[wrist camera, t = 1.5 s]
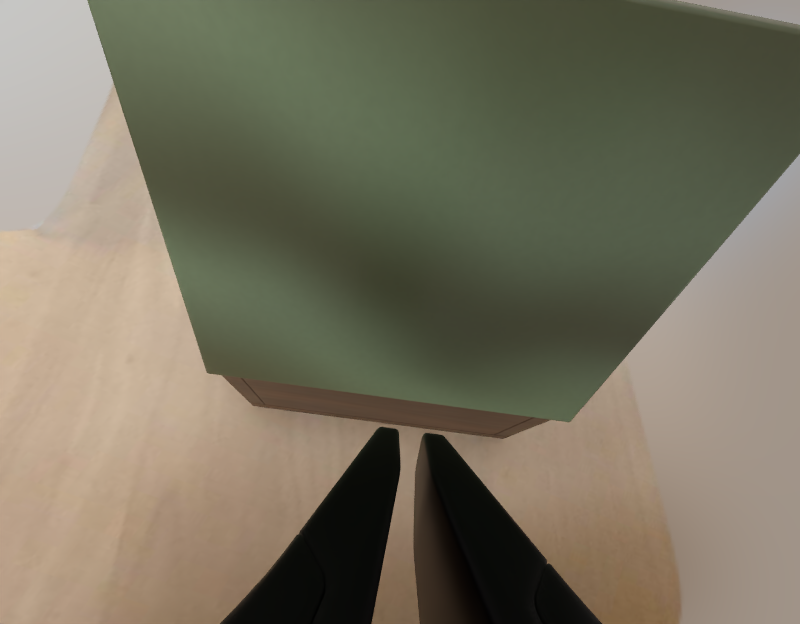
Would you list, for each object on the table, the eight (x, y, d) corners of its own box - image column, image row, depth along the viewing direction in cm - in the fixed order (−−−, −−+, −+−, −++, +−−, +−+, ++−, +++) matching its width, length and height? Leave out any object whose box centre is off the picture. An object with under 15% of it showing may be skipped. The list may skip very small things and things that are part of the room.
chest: (299, 227, 27) (284, 145, 20) (504, 259, 27) (549, 189, 21) (252, 405, 22) (214, 368, 16) (503, 438, 22) (562, 416, 16)
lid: (78, -119, 7) (46, -120, 6) (859, 36, 7) (895, 46, 7) (214, 356, 15) (206, 374, 15) (565, 405, 16) (570, 423, 16)
